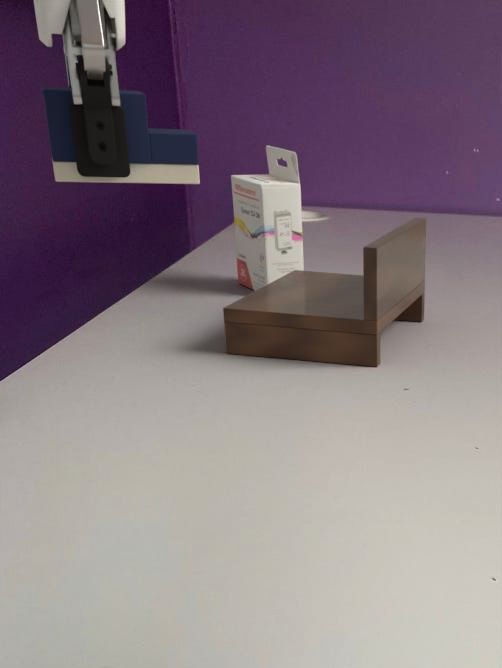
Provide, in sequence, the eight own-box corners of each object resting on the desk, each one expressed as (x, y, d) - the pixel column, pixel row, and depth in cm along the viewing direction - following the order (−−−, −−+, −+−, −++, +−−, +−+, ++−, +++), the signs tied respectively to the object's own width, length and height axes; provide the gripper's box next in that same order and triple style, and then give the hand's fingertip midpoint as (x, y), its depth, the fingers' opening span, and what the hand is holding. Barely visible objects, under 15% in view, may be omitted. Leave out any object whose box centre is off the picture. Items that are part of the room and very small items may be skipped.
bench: (226, 353, 93) (217, 235, 89) (296, 309, 111) (292, 208, 106) (377, 367, 92) (376, 248, 87) (424, 319, 109) (426, 218, 104)
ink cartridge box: (235, 283, 121) (226, 144, 114) (274, 280, 123) (268, 144, 116) (266, 297, 115) (258, 151, 108) (306, 294, 117) (301, 151, 110)
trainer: (55, 182, 66) (43, 89, 63) (54, 174, 69) (42, 86, 66) (200, 184, 69) (194, 96, 66) (192, 177, 72) (186, 93, 69)
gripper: (-5, -164, 65) (39, 157, 74) (-14, -214, 51) (42, 187, 60) (121, -149, 67) (149, 160, 76) (144, -193, 54) (175, 189, 63)
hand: (102, 168), depth 68 cm, fingers closed on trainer, 4 cm apart
